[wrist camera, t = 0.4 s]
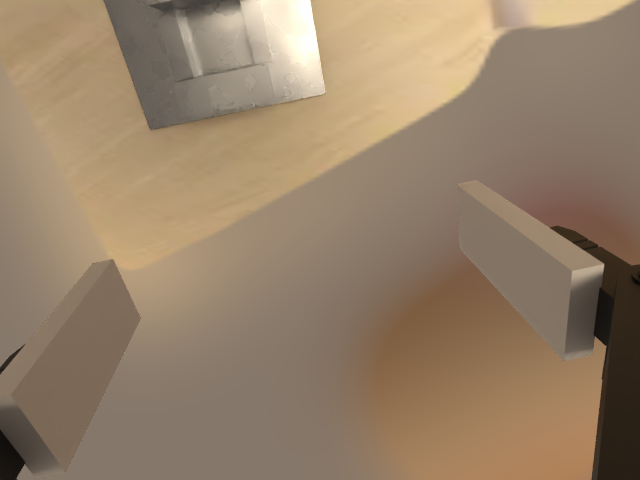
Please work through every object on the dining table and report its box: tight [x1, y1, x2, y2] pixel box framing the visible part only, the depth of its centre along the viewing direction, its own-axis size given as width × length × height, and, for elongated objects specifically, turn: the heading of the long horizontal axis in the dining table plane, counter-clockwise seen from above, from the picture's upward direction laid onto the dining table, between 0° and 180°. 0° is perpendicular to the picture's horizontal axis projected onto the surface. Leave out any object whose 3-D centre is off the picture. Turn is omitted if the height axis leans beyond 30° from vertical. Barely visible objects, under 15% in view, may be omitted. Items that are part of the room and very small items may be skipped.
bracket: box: [104, 0, 326, 130], centre depth 32 cm, size 12×16×7 cm
